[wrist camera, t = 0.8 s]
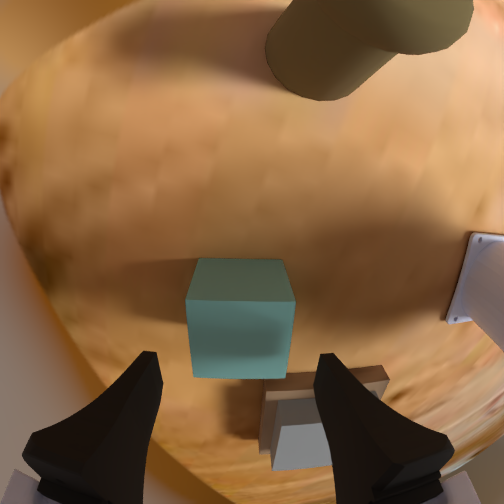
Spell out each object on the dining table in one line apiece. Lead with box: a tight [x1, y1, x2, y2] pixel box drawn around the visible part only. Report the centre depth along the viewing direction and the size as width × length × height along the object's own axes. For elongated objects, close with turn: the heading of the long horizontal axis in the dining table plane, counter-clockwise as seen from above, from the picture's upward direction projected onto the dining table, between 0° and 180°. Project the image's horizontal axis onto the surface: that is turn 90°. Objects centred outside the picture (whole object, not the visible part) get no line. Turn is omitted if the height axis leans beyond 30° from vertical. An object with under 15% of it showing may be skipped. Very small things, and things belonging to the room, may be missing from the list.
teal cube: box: [185, 258, 296, 379], centre depth 16 cm, size 5×5×5 cm
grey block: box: [270, 391, 379, 471], centre depth 20 cm, size 8×8×2 cm
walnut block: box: [258, 365, 390, 454], centre depth 22 cm, size 10×10×2 cm
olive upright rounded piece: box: [265, 0, 474, 101], centre depth 8 cm, size 6×6×11 cm
